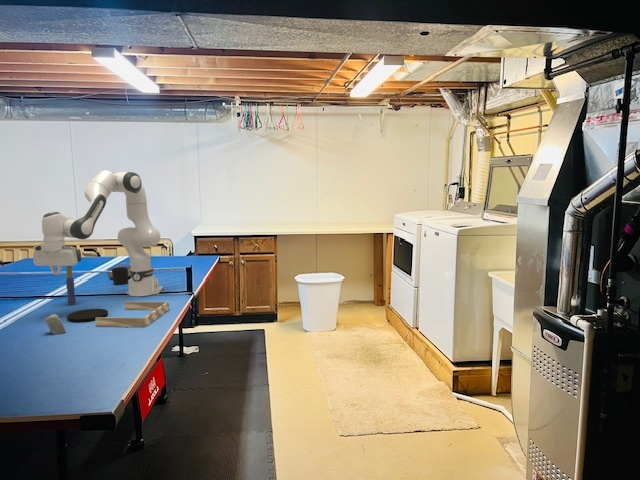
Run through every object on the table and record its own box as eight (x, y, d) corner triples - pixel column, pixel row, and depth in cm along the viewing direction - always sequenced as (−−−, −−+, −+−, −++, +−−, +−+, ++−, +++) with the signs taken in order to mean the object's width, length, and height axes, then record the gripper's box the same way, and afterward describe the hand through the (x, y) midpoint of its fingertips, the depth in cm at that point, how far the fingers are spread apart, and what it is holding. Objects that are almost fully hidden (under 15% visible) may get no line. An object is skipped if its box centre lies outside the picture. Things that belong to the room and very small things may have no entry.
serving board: (108, 271, 338) (107, 263, 337) (141, 268, 348) (141, 260, 348) (110, 281, 304) (109, 272, 303) (147, 278, 314) (146, 269, 313)
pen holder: (131, 282, 300) (130, 267, 298) (124, 285, 291) (123, 270, 289) (117, 282, 301) (116, 267, 299) (109, 285, 291) (108, 269, 290)
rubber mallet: (85, 301, 253) (80, 247, 249) (84, 304, 247) (80, 249, 243) (59, 304, 248) (54, 249, 244) (58, 307, 241) (53, 251, 237)
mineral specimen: (59, 326, 207) (60, 310, 205) (67, 334, 202) (68, 317, 200) (41, 330, 202) (42, 313, 200) (49, 338, 196) (50, 321, 195)
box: (125, 309, 237) (125, 301, 236) (169, 309, 235) (168, 302, 235) (95, 326, 209) (95, 317, 209) (144, 327, 208) (144, 318, 207)
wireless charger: (114, 312, 233) (113, 308, 233) (98, 323, 216) (98, 318, 215) (78, 312, 233) (78, 309, 232) (59, 323, 215) (59, 319, 215)
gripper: (79, 245, 223) (81, 273, 225) (38, 245, 224) (41, 273, 226) (71, 247, 217) (73, 276, 218) (29, 247, 218) (32, 275, 220)
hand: (56, 274), depth 222 cm, fingers closed
